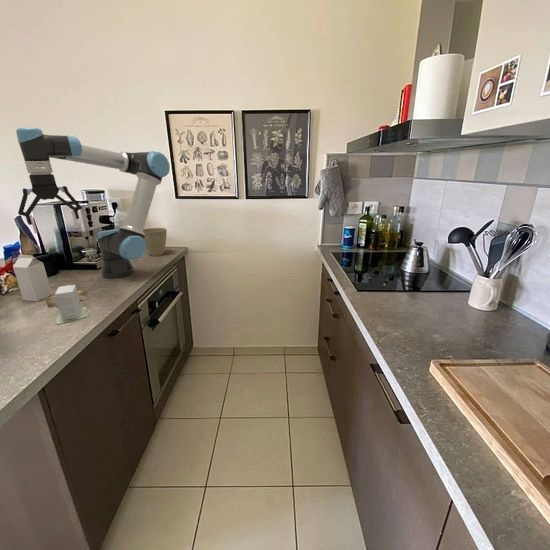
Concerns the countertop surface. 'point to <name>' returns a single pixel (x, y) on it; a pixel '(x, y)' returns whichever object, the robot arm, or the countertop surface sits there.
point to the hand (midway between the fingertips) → (57, 230)
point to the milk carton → (31, 278)
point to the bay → (52, 302)
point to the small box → (68, 302)
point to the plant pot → (155, 240)
